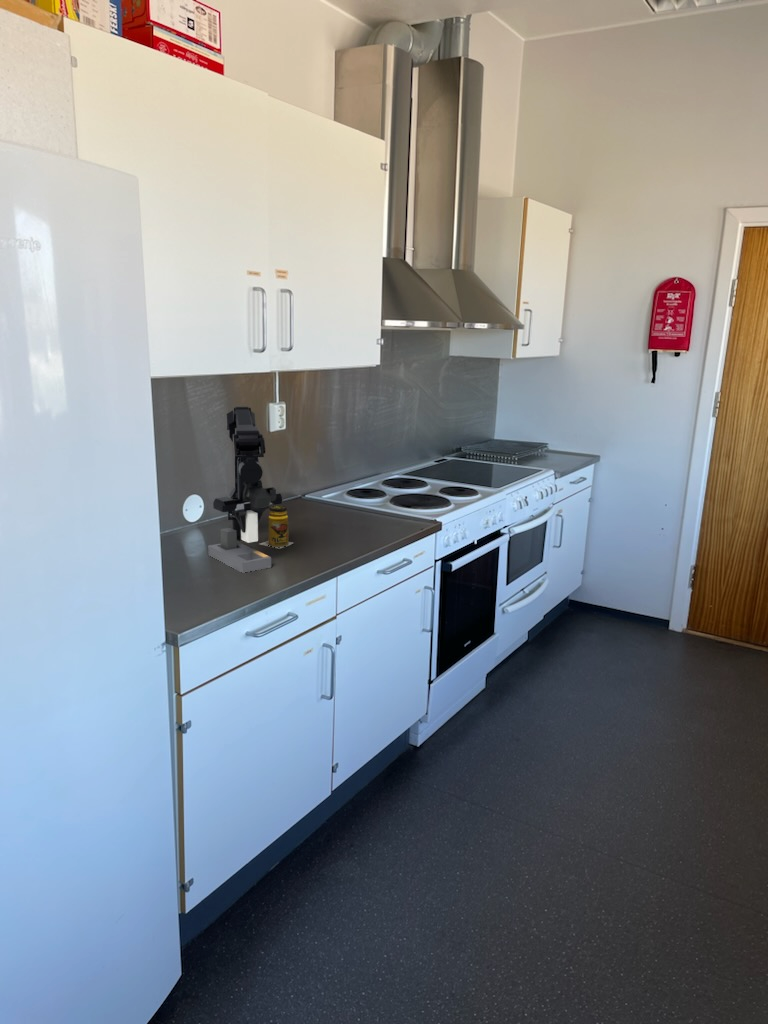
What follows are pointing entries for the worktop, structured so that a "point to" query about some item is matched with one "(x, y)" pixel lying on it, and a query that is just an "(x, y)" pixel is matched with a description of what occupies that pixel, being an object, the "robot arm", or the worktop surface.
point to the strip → (240, 557)
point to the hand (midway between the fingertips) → (249, 531)
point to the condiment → (278, 527)
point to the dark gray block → (228, 538)
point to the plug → (250, 527)
